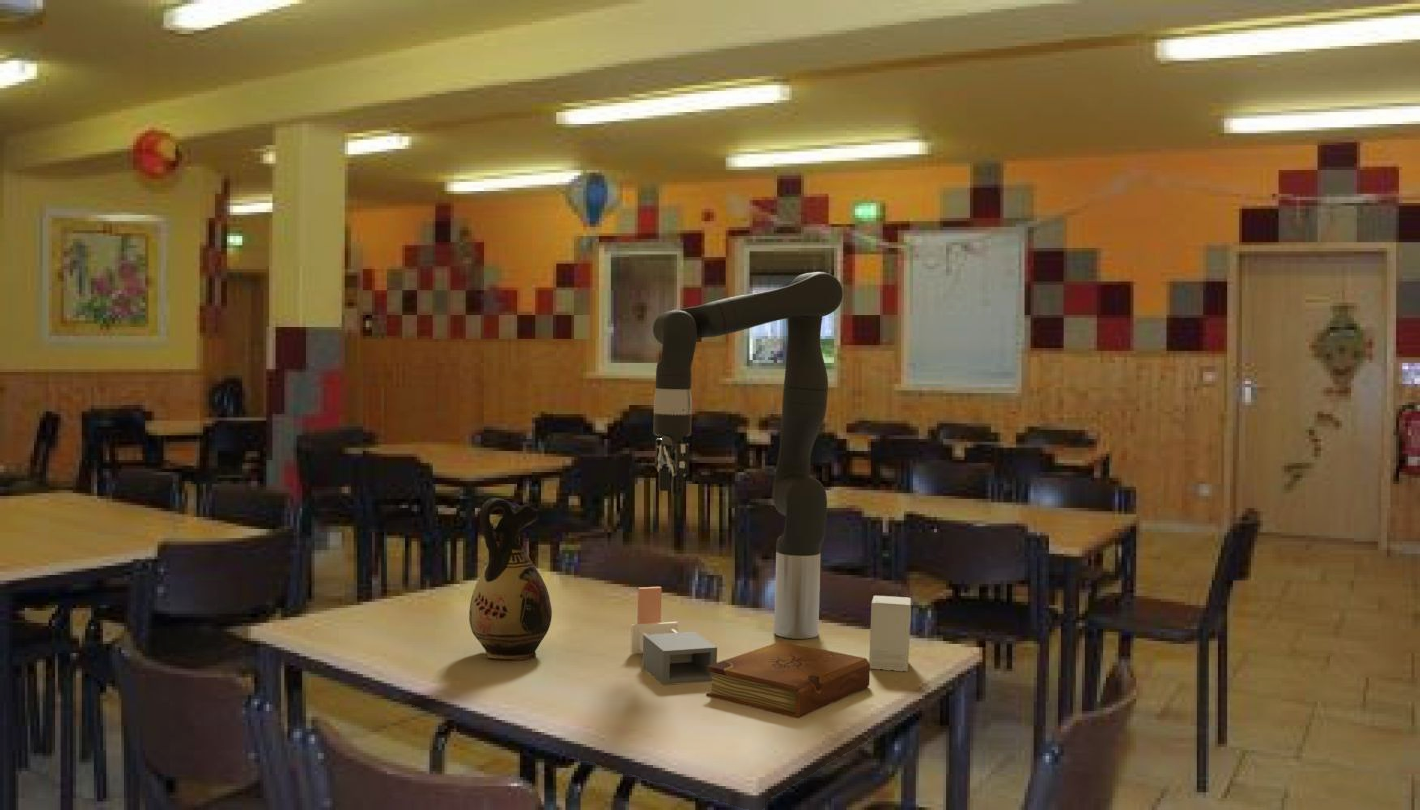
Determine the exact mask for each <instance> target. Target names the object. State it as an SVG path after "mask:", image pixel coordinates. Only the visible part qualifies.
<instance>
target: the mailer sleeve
mask: <svg viewBox="0 0 1420 810" xmlns="http://www.w3.org/2000/svg"><path fill="white" fill-rule="evenodd" d="M679 654H692V662H684V663H670V655H679ZM715 663H718V646H716V645H715V644H713V643H712V642H710V641H709V640H707V639H706V638H705V637H703V636H702V635H700V634H699V633H697V632H696V631H685V632H682V631H681V632H678V633H664V634H648V635H643V653H642V668H643V669H645V671H647V673H648V674H650V675H651V676H652V677H653V678H654V679H655V680H656V681H657V682H659V684H661V685H662V686H666V685H680V684H692V683H693V684H694V683H705V682H712V672H707V666H709V665H712V664H715Z"/></svg>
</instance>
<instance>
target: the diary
mask: <svg viewBox="0 0 1420 810" xmlns="http://www.w3.org/2000/svg"><path fill="white" fill-rule="evenodd" d="M870 671H871V669H870V663H869V660H868V659H867V658H866V657H862V656H856V655H851V654H847V653H842V652H836V651H832V650H828V649H827V650H826V649H822V648H816V647H812V646H805V645H803V644H802V645H801V644H797V643H791V642H787V641H777V642H775V643H771V644H769V645H766V646H763V647H760V648H757V649H754V650H751V651H748V652H745V653H743V654H739V655H736V656H734V657H730V658H727V659H723V660H721V661H717V663H715V664H712V665H709V666H707V672H712V681H711V691H709V692H706V693H705V694H706V696H707V697H709V698H714V699H717V700H718V699H719V700H723V701H726V702H731V703H734V704H739V705H741V706H746V707H749V708H750V707H751V708H755V709H757V710H763V711H766V712H770V713H775V714H779V715H782V716H787V717H791V718H795V719H799V718H801V717H803V716H806V715H808V714H809V713H812V712H815V711H816V710H818V709H821V708H824V707H826V706H828V705H830V704H832V703H836V702H837V701H839V700H842V699H844V698H846V697H848V695H849V696H851V695H853V694H856V693H857V691H858V692H860V691H862V690H864V689H867V688H868V687H869V686H870V677H871V676H870V675H871V672H870Z"/></svg>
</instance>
